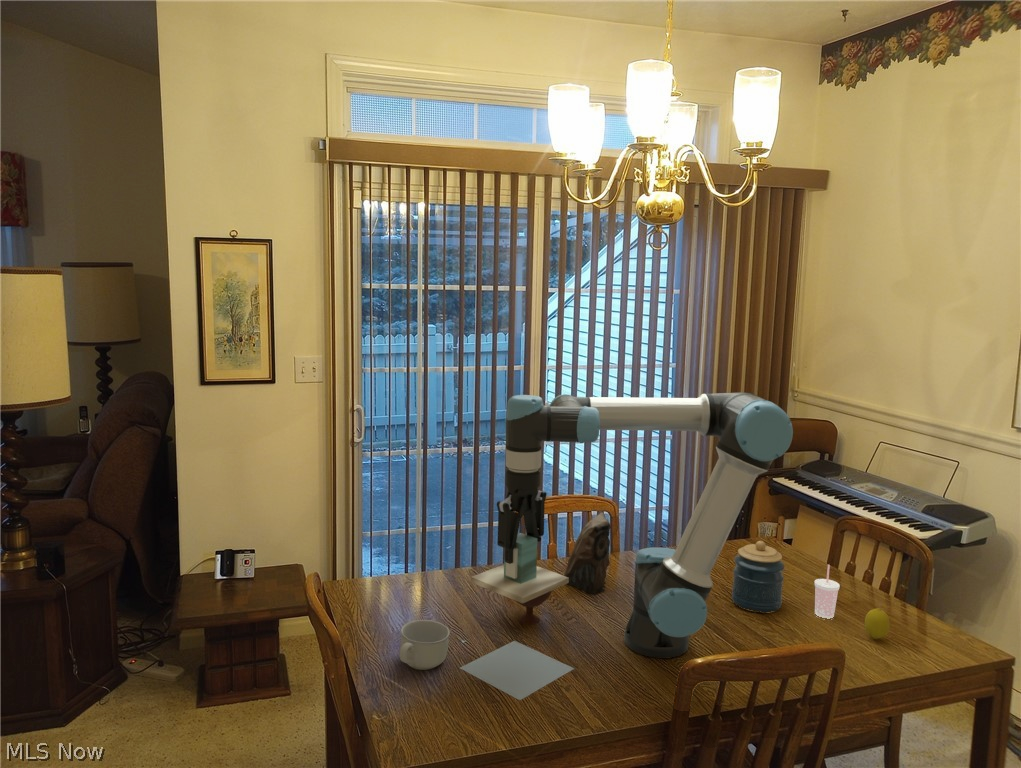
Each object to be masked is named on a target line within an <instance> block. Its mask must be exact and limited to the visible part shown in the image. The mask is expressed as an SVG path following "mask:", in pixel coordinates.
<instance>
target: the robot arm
mask: <svg viewBox="0 0 1021 768" xmlns="http://www.w3.org/2000/svg"><path fill="white" fill-rule="evenodd" d="M506 407H507V408H506V417H505V418H506V420H505V421H506V422H505V423H506V425H505V426H506V431H505V435H506V436H505V437H506V439H505V442H506V443H505V467H507V468H505V473H504V474H505V476H504V485H505V487H506V488H507V493H506V497H505V499H503V501H500V500H498V501H497V503H496V507H497V511H498V513H497V514H498V516H497V517H498V518H497V543H496V544H497V546H498V547H501V548H505V562H506V576H509V577H512V578H514V579H515V578H517V564H518V548H515V545H516V540H517V535H518V533H519V529H520V524H521V519H522V518H523V521H524V522H523V523H524V527H525V528H524V529H525V533H526V535H529V536H532V537H535V538H538V539H537V543H540V542H541V541H542V537H543V536H544V534H545V508H546V506H545V504H546V499H547V492H546V491H542V490H538V488H540V486H541V474H542V473H541V470H540V469H541V467H542V443H543V442H548V443H549V442H553V443H555V442H556V443H580V444H584V443H594V442H597V441H598V439H599V437H600V436H599V435H600V431H652V432H653V431H655V432H656V431H657V432H658V431H660V432H661V431H667V432H670V431H671V432H677V431H678V432H683V431H684V432H698V433H699V434H700V435H701V436H702V437H703V436H708V437H709V436H710V437H717V438H719V439H718V442H717V444H716V446H715V449H716V452H717V454H718V459H717V461H716V463H715V465H714V467H713V470H712V471H711V474H710V476H709V478H708V479H707V480H708V481H707V482H706V485H705V486H704V489H703V491H702V493H701V495H700V497H699V499H698V502H697V504H696V506H695V508H694V510H693V512H692V514H691V517H690V519H689V521H688V522H687V525H686V527H685V529H684V531H683V533H682V536H681V537H680V540H679V542H678V545H677V546H676V548H675V549H674V548H668V547H658V546H657V547H645V548H641V549H639V550H638V551H637V552H636V556H635V561H634V564H635V566H634V567H635V568H634V588H633V591H634V592H633V606H632V607H633V608H632V611H631V614H630V616H629V619H628V622H627V624H626V626H625V629H624V636H623V641H624V643H625V645H626V647H628V648H629V649H630V650H631V651H633V652H634V653H637V654H639V655H642V656H646V657H650V658H657V659H672V657H673V658H677V657H679V656H678V655H680V656H682V655H681V654H683V653H684V654H685V653H686V652H687V651H688V650H689V645H690V644H689V643H690V642H689V641H690V638H689V636H691V635H694V634H696V632H698V631H700V630H701V628H702V627H703V626H704V624H705V623H706V620H707V618H708V617H707V616H708V608H707V607H708V606H707V603H706V601H707V598H708V597H709V595H710V592H711V591H712V588H713V586H714V583H713V580H712V576H711V573H712V571H713V568H714V567H715V564H716V563H717V560H718V558H719V556H720V554H721V552H722V549H724V548H723V547H724V546H725V543H726V541H727V540H728V537H729V535H730V533H731V531H732V529H733V527H734V525H735V523H736V520H737V518H738V517H739V514H740V513H741V510H742V508H743V506H744V504H745V501H746V499H747V498H748V495H749V493H750V492H751V489H752V487H753V485H754V484H755V483H754V482H755V480H756V479H757V477H758V476H759V475H762V474H764V473H767V472H768V471H769V470H770V467H771V465H772V463H773V461H774V460H776V459H778V458H779V457H782V456H783V455H784V454H785V453H786V452H787V451H788V449H789V448H790V446H791V444H792V440H793V436H794V435H793V434H794V429H793V424H792V421H791V418H790V417H789V415H788V414H787V413H786V412H785V411H784V410H783V408H781V407H780V406H779V405H777V404H776V403H774V402H772V401H770V400H766V399H764V398H762V397H760V396H758V395H756V394H754V393H750V392H744V391H743V392H741V391H740V392H739V391H738V392H721V393H720V392H719V393H718V392H717V393H702V394H700V395H699V396H698V397H697V398H696V397H632V396H631V397H629V396H628V397H627V396H626V397H623V396H622V397H620V396H619V397H613V396H612V397H611V396H607V397H604V396H603V397H602V396H600V397H599V396H588V397H585V396H574V395H572V394H565V393H564V394H559V395H557V396H556V397H554V398H553V399H552V400H551V402H550V403H549V405H544V401H543V398H542V397H541V396H538V395H531V394H530V395H529V394H516V395H513V396H511V397H510V398H508V401H507V406H506ZM510 542H511V543H510ZM687 649H688V650H687ZM684 654H683V655H684ZM676 656H677V657H676Z"/></svg>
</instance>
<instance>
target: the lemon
mask: <svg viewBox="0 0 1021 768" xmlns="http://www.w3.org/2000/svg"><path fill="white" fill-rule="evenodd" d="M864 618H865V619H864V628H865V631H866V632H867V634H868V635H869V636H870V637H872V638H873V639H874V640H878V639H883V638H884V637H885V636H886V635H888V633H889V630H890V625H891V623H890V618H889V616H888V614H887V612H885V611H884V610H882V609H881V608H880V607H877V608H873V609H871V610H869V611H868V612H867V613H866V615H865V617H864Z"/></svg>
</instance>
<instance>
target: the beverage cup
mask: <svg viewBox="0 0 1021 768" xmlns="http://www.w3.org/2000/svg"><path fill="white" fill-rule="evenodd" d="M830 567H831V565H830V564H827V571H826V578H817V579H815V580H814V588H815V589H814V590H815V591H814V615H815V614H816V615H817V616H819V617H822V618H827V619H830V618H833V617H835V611H836V604H837V599H838V592H839V589H840V587H841V586H840V583H838V582H837V581H835V580H833V579H829V578H830V577H829V576H830V569H831V568H830ZM817 616H816V617H817ZM833 619H834V618H833Z"/></svg>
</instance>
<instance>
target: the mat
mask: <svg viewBox="0 0 1021 768" xmlns="http://www.w3.org/2000/svg"><path fill="white" fill-rule="evenodd" d="M459 669H460V670H461V671H464V672H466V673H468V674H470V675H471V676H473V677H475V678H477V679H479V680H481V681H483V682H484V683H486V684H488V685H491V687H494V688H495V689H498V690H499V691H501V692H503V693H505V694H507V695H509V696H510V697H513V698H514V699H516V700H518V701H521V700H523V699H526V698H527V697H529V696H531V695H532V694H533V693H535V692H537V691H539V690H541V689H542V688H544V687H545V686H547V685H549V684H551V683H552V682H555V681H556V680H558V679H559V678H562V677H563V676H564V675H566V674H567V673H570V672H572V671H573V670H575V668H574V667H572V666H570V665H568V664H565V663H563V662H562V661H559V660H557V659H555V658H553V657H550V656H549V655H546V654H544V653H542V652H540V651H538V650H536V649H533V648H531V647H529V646H528V645H525V644H523V643H520V642H518V641H516V640H513V641H511V642H509V643H507V644H505V645H503V646H501V647H499V648H497V649H495V650H492V651H491V652H489V653H487V654H485V655H483V656H481V657H479V658H476V659H474V660H473V661H471V662H469V663H467V664H464V665H463V666H460V667H459Z"/></svg>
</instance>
